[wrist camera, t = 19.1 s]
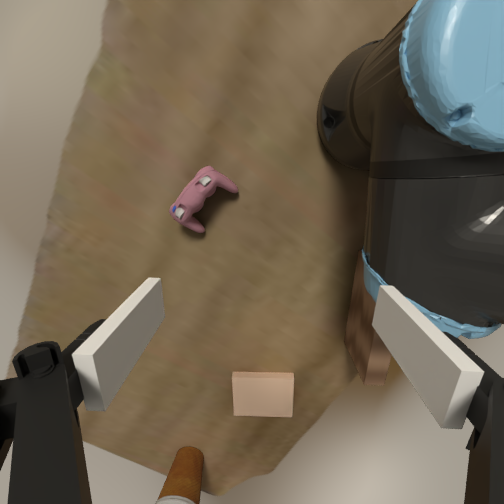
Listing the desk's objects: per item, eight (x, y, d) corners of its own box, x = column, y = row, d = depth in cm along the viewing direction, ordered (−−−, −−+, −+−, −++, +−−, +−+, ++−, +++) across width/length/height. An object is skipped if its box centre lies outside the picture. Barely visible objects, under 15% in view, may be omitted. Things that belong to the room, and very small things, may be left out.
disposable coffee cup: (219, 458, 60) (208, 527, 48) (190, 474, 62) (174, 544, 51) (189, 435, 58) (171, 501, 46) (161, 453, 60) (138, 520, 49)
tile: (232, 377, 50) (234, 415, 53) (294, 378, 49) (292, 417, 53) (233, 369, 52) (235, 406, 55) (293, 370, 51) (291, 408, 55)
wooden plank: (358, 249, 42) (386, 275, 33) (377, 250, 42) (410, 275, 33) (343, 341, 48) (363, 384, 39) (360, 341, 48) (384, 385, 38)
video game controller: (224, 170, 40) (199, 155, 34) (243, 189, 39) (220, 177, 33) (187, 217, 43) (157, 211, 37) (203, 236, 42) (175, 233, 35)
